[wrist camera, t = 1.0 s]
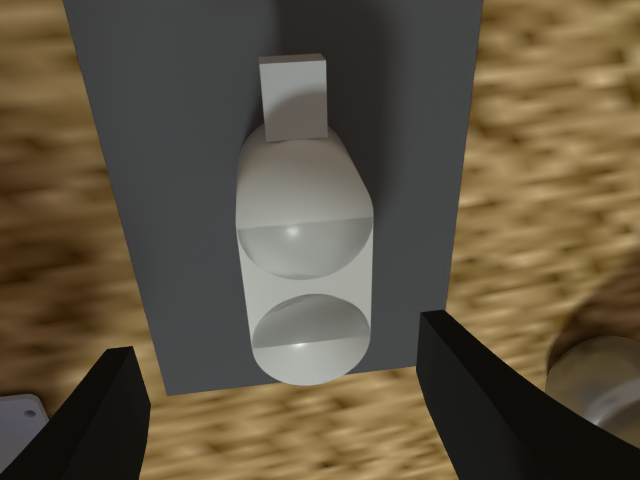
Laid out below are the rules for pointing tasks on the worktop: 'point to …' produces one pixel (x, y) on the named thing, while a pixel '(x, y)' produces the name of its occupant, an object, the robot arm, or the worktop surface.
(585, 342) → the plastic bottle
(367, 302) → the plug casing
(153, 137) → the rubber mat
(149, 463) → the worktop surface
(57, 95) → the worktop surface
